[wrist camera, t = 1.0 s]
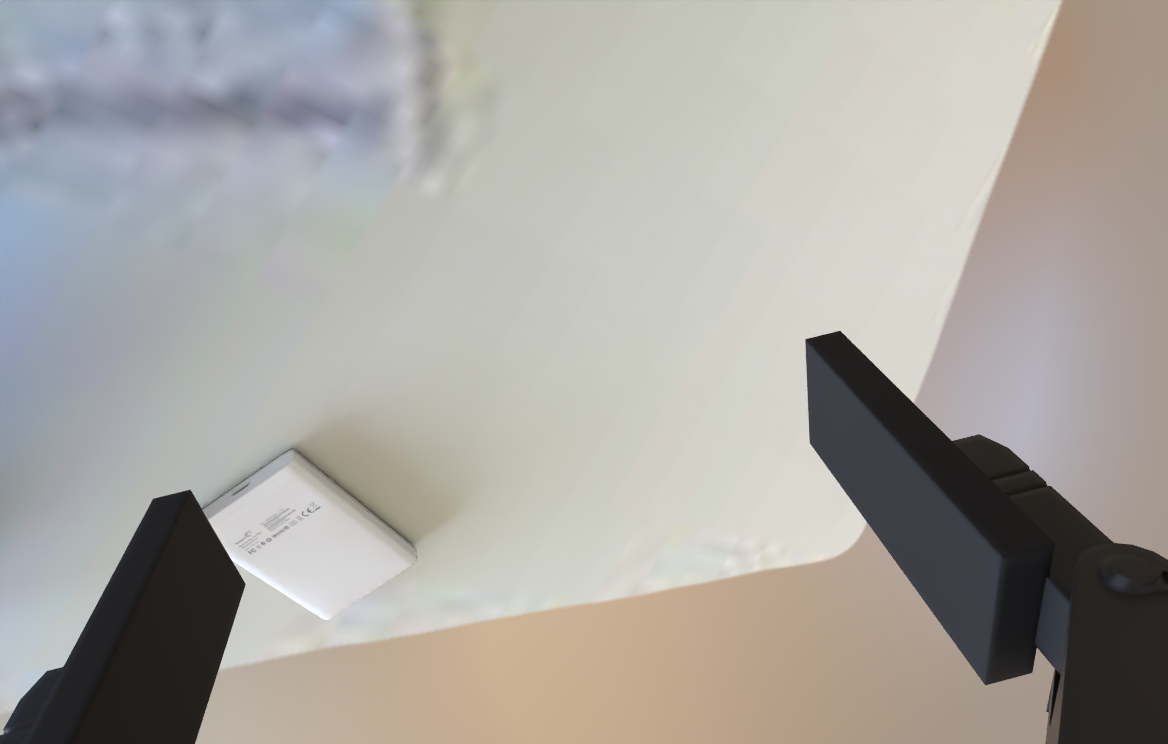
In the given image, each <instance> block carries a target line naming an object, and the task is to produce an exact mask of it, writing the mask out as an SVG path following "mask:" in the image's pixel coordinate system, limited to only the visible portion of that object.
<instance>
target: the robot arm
mask: <svg viewBox="0 0 1168 744" xmlns="http://www.w3.org/2000/svg"><path fill="white" fill-rule="evenodd" d="M805 341H806V364H807V387H808V411H809V434H810V444H811V445H812V447H813V448H814V449H815V451H816V452H817V454H818V455H819V456H820V458H821V459H822V460H823V462H824V463H825V465H826V466H827V467H828V469H829V470H830V471H831V473H832V474H833V476H834V477H835V478H836V480H837V481H838V483H839V484H840V485H841V487H842V488H843V489H844V491H845V492H846V494H847V495H848V496H849V498H850V499H851V500H852V502H853V503H854V505H855V506H856V507H857V509H858V510H859V512H860V513H861V514H862V516H863V517H864V518H865V520H866V521H867V523H868V524H869V525H870V527H871V528H872V529H873V531H874V532H875V534H876V535H877V536H878V538H879V539H880V541H881V542H882V543H883V545H884V546H885V547H886V549H887V550H888V552H889V553H890V554H891V556H892V557H893V558H894V560H895V561H896V563H897V564H898V565H899V567H900V568H901V570H902V571H903V572H904V574H905V575H906V576H907V578H908V579H909V580H910V582H911V583H912V585H913V586H914V587H915V589H916V590H917V592H918V593H919V594H920V596H921V597H922V599H923V600H924V601H925V603H926V604H927V605H928V607H929V608H930V610H931V611H932V612H933V614H934V615H935V616H936V618H937V619H938V621H939V622H940V623H941V625H942V626H943V628H944V629H945V630H946V632H947V633H948V634H949V636H950V637H951V638H952V640H953V641H954V643H955V644H956V645H957V647H958V648H959V650H960V651H961V652H962V653H963V655H964V657H966V659H967V660H968V662H969V663H970V665H971V666H972V668H973V669H974V670H975V671H976V673H977V674H978V676H979V677H980V678H981V680H982V681H983V683H984V684H985V685H988V684H992V683H996V682H999V681H1003V680H1006V679H1011V678H1014V677H1018V676H1022V675H1026V674H1029V673H1032V671H1033V666H1034V660H1035V654H1036V648H1038V649H1039V650H1040V651H1041V652H1042V654H1043V655H1044V656H1045V657H1046V658H1047V660H1048V661H1049V662H1050V663H1051V664H1052V666H1053V667H1054V668H1055V671H1054V676H1053V681H1052V686H1051V691H1050V696H1049V701H1048V706H1047V711H1046V712H1049V717H1048V726H1047V734H1046V744H1168V560H1167V559H1165V558H1164V557H1162V556H1160V555H1159V554H1157V553H1155V552H1153V551H1150V550H1147V549H1144V548H1141V547H1137V546H1134V545H1128V544H1118V543H1114V542H1112V541H1111V540H1110V539H1109V538H1108V537H1107V536H1105V535H1104V534H1103V533H1102V532H1101V531H1100V530H1099V529H1098V528H1097V527H1095V526H1094V525H1093V524H1092V523H1091V522H1090V521H1089V520H1088V519H1087V518H1085V517H1084V516H1083V515H1082V514H1081V513H1080V512H1079V511H1078V510H1077V509H1076V508H1074V507H1073V506H1072V505H1071V504H1070V503H1069V502H1068V501H1066V499H1064V498H1063V497H1062V496H1061V495H1060V494H1059V493H1058V492H1057V491H1056V490H1054V489H1053V488H1052V487H1051V486H1047V484H1046V482H1045V481H1044V480H1043V479H1042V478H1041V477H1040V476H1039V475H1038V474H1037V473H1036V472H1034V471H1033V470H1032V471H1030V469H1029V466H1028V465H1027V464H1026V463H1024V462H1023V461H1022V460H1021V459H1020V458H1019V457H1018V456H1017V455H1015V454H1014V453H1013V452H1012V451H1011V450H1010V449H1009V448H1007V447H1005V446H1003V445H1001V444H999V443H997V442H994V441H992V440H990V439H988V438H986V437H984V436H981V435H975V436H971V437H967V438H963V439H959V440H955V441H951V440H950V439H949V438H948V437H947V436H946V435H945V434H944V433H943V432H942V431H941V430H940V429H939V428H938V427H937V426H936V425H935V424H934V423H933V422H932V421H931V420H930V419H929V418H928V417H926V415H925V414H924V413H923V412H922V411H921V410H920V409H919V408H918V407H917V406H916V405H915V404H914V403H913V402H912V401H911V400H910V399H909V398H908V397H907V396H906V395H905V394H903V393H902V392H901V391H900V390H899V389H898V388H897V387H896V386H895V385H894V384H893V383H892V382H891V381H890V380H889V379H888V378H887V377H886V376H885V375H884V374H883V373H882V372H881V371H880V370H879V369H878V368H877V367H876V366H875V365H874V364H873V363H872V362H871V361H870V360H869V359H868V358H867V357H866V356H865V355H864V354H863V353H862V352H861V351H860V350H859V349H858V348H857V347H856V346H855V345H854V344H853V343H852V342H851V341H850V340H849V339H848V338H847V337H846V336H845V335H844V334H843V333H842V332H841V331H838V332H834V333H830V334H825V335H821V336H817V337H813V338H809V339H805ZM245 585H246V584H245V582H244V581H243V579H242V577H241V575H240V574H239V572H238V570H237V569H236V567H235V565H234V564H233V562H232V560H231V558H230V557H229V555H228V553H227V552H226V550H225V548H224V546H223V545H222V543H221V541H220V540H219V538H218V536H217V534H216V533H215V531H214V529H213V528H212V526H211V524H210V522H209V521H208V519H207V517H206V516H205V514H204V512H203V510H202V509H201V507H200V505H199V504H198V502H197V500H196V498H195V497H194V495H193V493H192V492H191V490H188V491H183V492H179V493H175V494H171V495H167V496H163V497H159V498H155V499H153V500H152V502H151V504H150V506H149V508H148V510H147V512H146V513H145V515H144V517H143V519H142V521H141V523H140V525H139V527H138V528H137V530H136V532H135V534H134V536H133V538H132V540H131V542H130V543H129V545H128V547H127V549H126V551H125V553H124V555H123V557H122V558H121V560H120V562H119V564H118V566H117V568H116V570H115V572H114V573H113V575H112V577H111V579H110V581H109V583H108V585H107V587H106V588H105V590H104V592H103V594H102V596H101V598H100V600H99V601H98V603H97V605H96V607H95V609H94V611H93V613H92V615H91V616H90V618H89V620H88V622H87V624H86V626H85V628H84V630H83V631H82V633H81V635H80V637H79V639H78V641H77V643H76V645H75V646H74V648H73V650H72V652H71V654H70V656H69V658H68V660H67V661H66V663H65V665H64V667H62V668H58V669H54V670H50V671H47V672H46V673H45V674H44V675H43V676H42V677H41V678H40V679H39V680H38V681H37V682H36V683H35V685H34V686H33V687H32V688H31V689H30V690H29V691H28V692H27V693H26V694H25V695H24V696H23V698H22V699H21V700H20V701H19V703H18V705H17V706H16V708H15V710H14V712H13V714H12V715H11V717H10V719H9V721H8V722H7V724H6V726H5V728H4V735H0V744H195V741H196V739H197V735H198V732H199V729H200V726H201V723H202V720H203V716H204V713H205V710H206V707H207V704H208V701H209V698H210V694H211V691H212V688H213V685H214V682H215V679H216V676H217V672H218V669H219V666H220V663H221V660H222V657H223V654H224V651H225V647H226V644H227V641H228V638H229V635H230V632H231V629H232V625H233V622H234V619H235V616H236V613H237V610H238V607H239V603H240V600H241V597H242V594H243V591H244V588H245Z"/></svg>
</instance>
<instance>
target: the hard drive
mask: <svg viewBox="0 0 1168 744" xmlns="http://www.w3.org/2000/svg"><path fill="white" fill-rule="evenodd" d="M202 510H203V512H204V514H205V516H206V517H207V519H208V521H209V522H210V524H211V526H212V528H213V529H214V531H215V533H216V534H217V536H218V538H219V540H220V541H221V543H222V545H223V546H224V548H225V550H226V552H227V553H228V555H229V557H230V558H231V560H232V561H234V562H235V563H237V564H238V565H240V566H242V567H243V568H245V569H246V570H248V571H249V572H251V573H253V574H254V575H256V576H257V577H259V578H260V579H262V580H263V581H265V582H267V583H268V584H270V585H271V586H273V587H274V588H276V589H277V590H279V591H280V592H282V593H284V594H285V595H287V596H288V597H290V598H291V599H293V600H294V601H296V602H298V603H299V604H301V605H302V606H304V607H305V608H307V609H309V610H310V611H312V612H313V613H315V614H316V615H318V616H320V617H321V618H323V619H324V620H329V619H331V618H333V617H334V616H336V615H337V614H339V613H340V612H342V611H343V610H345V609H346V608H348V607H349V606H351V605H353V604H354V603H355V602H357V601H358V600H360V599H362V598H363V597H365V596H366V595H368V594H369V593H371V592H372V591H374V590H375V589H377V588H379V587H380V586H382V585H383V584H385V583H386V582H388V581H389V580H390V579H392V578H394V577H395V576H397V575H398V574H400V573H401V572H403V571H404V570H406V569H407V568H409V567H410V566H411V565H413V564H414V563H415V562H416V561H417V551H416V548H415V547H414V546H413V545H411V544H410V543H409V542H408V541H406V540H405V539H404V538H403V537H402V536H400V535H399V534H398V533H397V532H395V531H394V530H393V529H392V528H390V527H389V526H388V525H387V524H385V523H384V522H383V521H382V520H380V519H379V518H378V517H377V516H376V515H374V514H373V513H372V512H371V511H369V510H368V509H367V508H366V507H364V506H363V505H362V504H361V503H359V502H358V501H357V500H356V499H355V498H353V497H352V496H351V495H350V494H348V493H347V492H346V491H345V490H343V489H342V488H341V487H340V486H338V485H337V484H336V483H335V482H333V481H332V480H331V479H330V478H328V477H327V476H326V475H325V474H324V473H322V472H321V471H320V470H319V469H317V468H316V467H315V466H314V465H312V464H311V463H310V462H309V461H307V460H306V459H305V458H304V457H303V456H302V455H300V454H299V453H298V452H297V451H295V450H294V449H292V450H289V451H287V452H286V453H284V454H283V455H281V456H280V457H278V458H277V459H275V460H274V461H272V462H271V463H269V464H268V465H266V466H265V467H263V468H262V469H261V470H259V471H258V472H256V473H255V474H253V475H252V476H250V477H249V478H247V479H246V480H245V481H243V482H241V483H240V484H239V485H237V486H236V487H234V488H233V489H231V490H230V491H228V492H227V493H225V494H224V495H223V496H221V497H220V498H218V499H217V500H215V501H214V502H212V503H211V504H210V505H208V506H207V507H205V508H204V509H202Z"/></svg>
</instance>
